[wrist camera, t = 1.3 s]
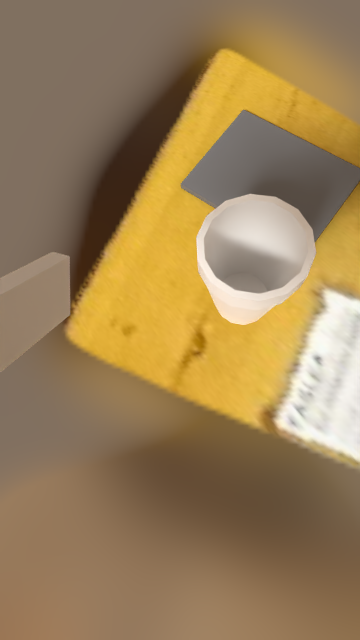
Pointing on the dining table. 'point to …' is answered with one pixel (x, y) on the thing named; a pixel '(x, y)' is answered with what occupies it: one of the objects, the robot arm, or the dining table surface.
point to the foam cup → (253, 255)
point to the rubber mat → (273, 171)
